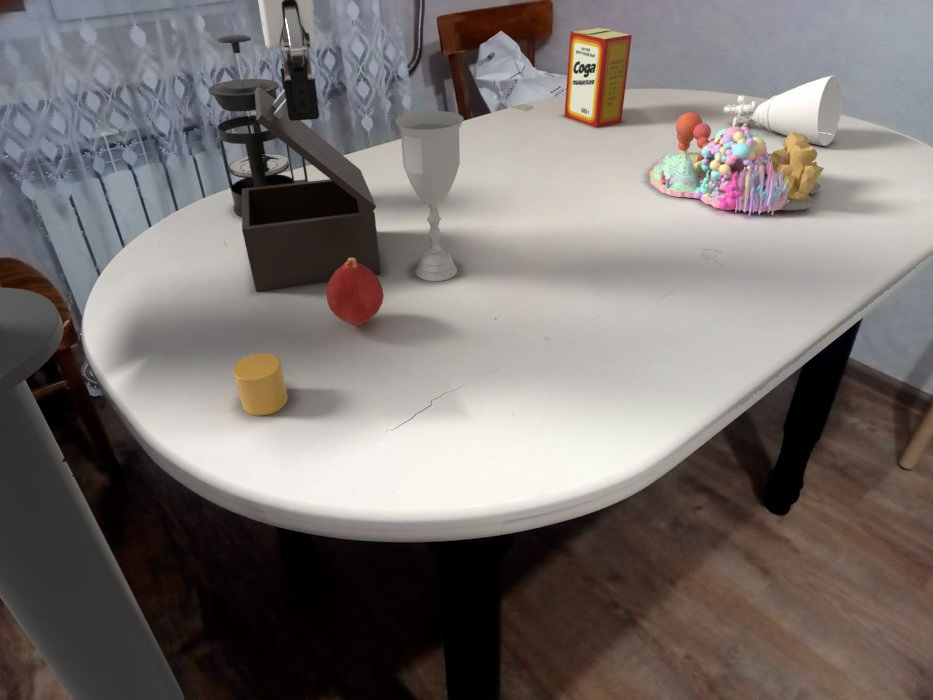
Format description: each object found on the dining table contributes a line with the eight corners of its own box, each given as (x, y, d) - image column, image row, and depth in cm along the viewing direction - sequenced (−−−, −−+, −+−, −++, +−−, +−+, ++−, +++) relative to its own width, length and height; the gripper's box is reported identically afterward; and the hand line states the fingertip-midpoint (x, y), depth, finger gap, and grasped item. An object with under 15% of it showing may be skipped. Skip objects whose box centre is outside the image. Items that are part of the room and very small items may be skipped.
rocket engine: (727, 70, 122) (832, 61, 110) (747, 103, 130) (846, 97, 118) (708, 128, 121) (812, 125, 109) (730, 157, 130) (828, 157, 118)
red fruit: (321, 321, 71) (310, 254, 66) (368, 304, 73) (361, 239, 69) (347, 346, 67) (337, 276, 62) (395, 327, 69) (389, 259, 65)
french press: (227, 223, 92) (185, 45, 79) (230, 198, 99) (192, 31, 86) (313, 214, 94) (285, 39, 81) (309, 190, 102) (284, 27, 88)
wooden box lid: (256, 120, 66) (287, 81, 65) (254, 91, 76) (281, 56, 75) (372, 212, 75) (401, 179, 73) (356, 174, 85) (382, 145, 83)
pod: (238, 417, 58) (228, 381, 56) (246, 389, 61) (237, 354, 59) (284, 414, 58) (276, 378, 56) (290, 386, 61) (282, 351, 59)
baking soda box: (621, 121, 129) (632, 32, 120) (596, 127, 126) (605, 36, 117) (588, 111, 136) (596, 25, 127) (564, 116, 133) (570, 29, 124)
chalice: (416, 289, 76) (405, 133, 66) (399, 264, 81) (387, 115, 71) (474, 277, 78) (473, 124, 68) (454, 253, 83) (450, 107, 73)
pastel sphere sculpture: (809, 166, 107) (826, 108, 102) (833, 225, 89) (855, 157, 84) (652, 154, 113) (660, 99, 108) (644, 207, 95) (654, 143, 89)
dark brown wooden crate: (256, 291, 76) (241, 229, 72) (254, 245, 86) (241, 188, 82) (380, 274, 79) (374, 213, 75) (365, 231, 89) (359, 175, 85)
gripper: (234, -87, 68) (264, 95, 78) (233, -83, 55) (270, 137, 65) (308, -88, 70) (328, 91, 80) (324, -83, 56) (346, 131, 67)
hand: (301, 110), depth 72 cm, fingers closed on wooden box lid, 5 cm apart
